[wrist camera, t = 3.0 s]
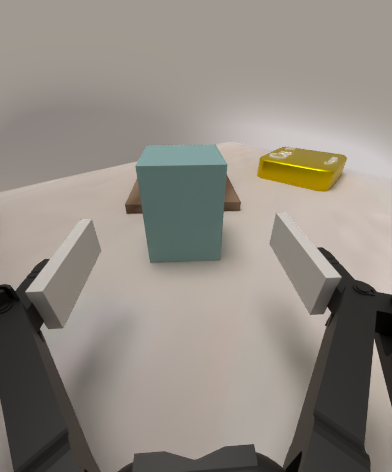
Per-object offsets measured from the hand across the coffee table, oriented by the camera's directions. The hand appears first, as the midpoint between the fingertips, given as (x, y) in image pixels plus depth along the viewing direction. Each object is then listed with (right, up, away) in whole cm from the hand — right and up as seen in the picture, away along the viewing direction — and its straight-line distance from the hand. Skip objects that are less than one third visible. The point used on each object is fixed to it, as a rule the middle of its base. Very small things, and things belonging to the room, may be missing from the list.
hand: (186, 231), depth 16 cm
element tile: (+24, +13, +35) cm, 44 cm away
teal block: (-1, -1, +13) cm, 13 cm away
